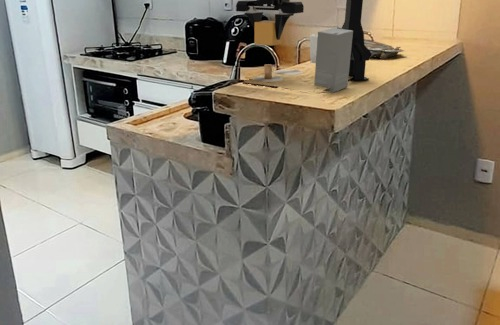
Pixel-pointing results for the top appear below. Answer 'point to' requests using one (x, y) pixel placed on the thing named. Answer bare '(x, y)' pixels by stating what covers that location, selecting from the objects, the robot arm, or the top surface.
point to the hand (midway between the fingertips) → (268, 38)
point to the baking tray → (381, 49)
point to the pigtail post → (267, 71)
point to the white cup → (313, 47)
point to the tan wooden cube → (266, 33)
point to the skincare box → (333, 59)
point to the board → (275, 77)
